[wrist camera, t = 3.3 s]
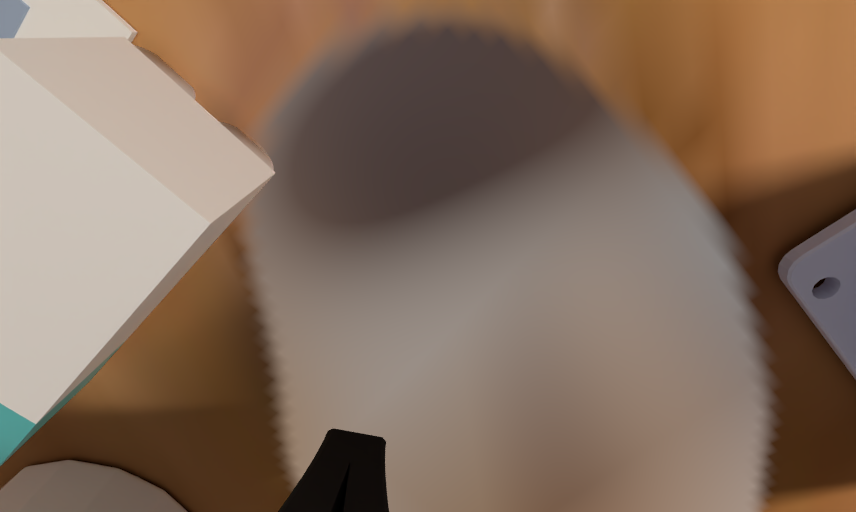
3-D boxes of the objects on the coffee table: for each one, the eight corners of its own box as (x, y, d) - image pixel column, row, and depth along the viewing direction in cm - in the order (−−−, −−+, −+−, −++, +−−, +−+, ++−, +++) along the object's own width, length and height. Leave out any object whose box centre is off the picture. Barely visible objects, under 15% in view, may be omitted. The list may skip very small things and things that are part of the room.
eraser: (148, 36, 9) (-17, 38, 6) (287, 163, 10) (210, 223, 7) (-14, 283, 11) (-184, 374, 8) (107, 364, 12) (-5, 471, 9)
